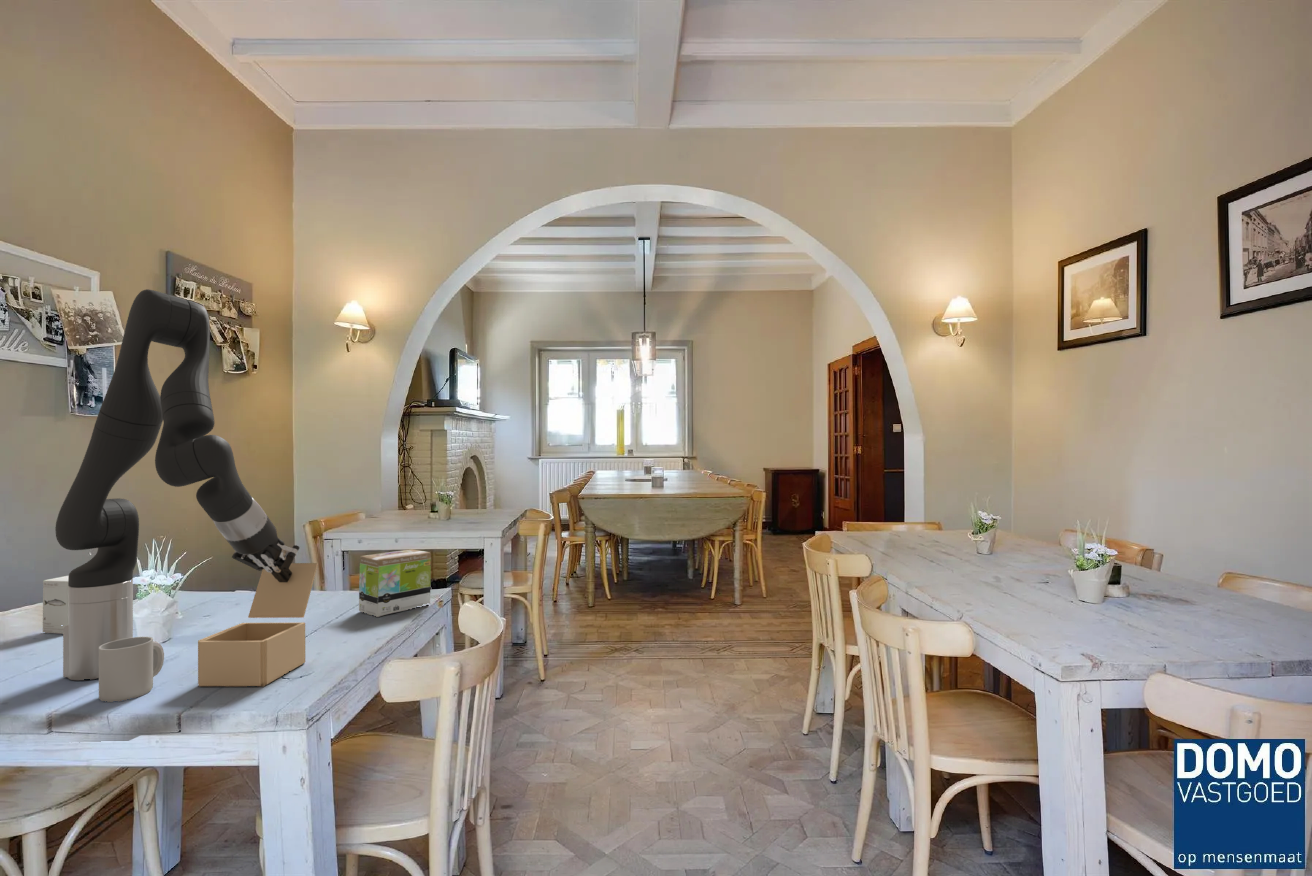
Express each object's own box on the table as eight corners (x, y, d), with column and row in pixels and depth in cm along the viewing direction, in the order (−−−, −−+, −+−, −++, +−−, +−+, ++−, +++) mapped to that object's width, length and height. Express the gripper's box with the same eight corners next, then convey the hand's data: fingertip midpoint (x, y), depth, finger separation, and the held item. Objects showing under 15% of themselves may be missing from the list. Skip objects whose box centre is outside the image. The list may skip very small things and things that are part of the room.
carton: (194, 687, 109) (194, 641, 109) (244, 662, 121) (243, 622, 122) (264, 687, 109) (264, 641, 109) (306, 662, 121) (306, 621, 121)
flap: (247, 617, 122) (264, 563, 127) (249, 617, 122) (265, 563, 127) (302, 617, 121) (317, 562, 126) (303, 617, 122) (318, 563, 127)
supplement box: (41, 633, 144) (41, 580, 144) (75, 624, 151) (75, 573, 151) (66, 635, 142) (67, 580, 143) (100, 625, 150) (100, 574, 150)
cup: (87, 701, 104) (87, 648, 104) (146, 679, 113) (146, 631, 114) (121, 704, 102) (121, 650, 102) (178, 681, 112) (178, 632, 112)
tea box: (378, 618, 153) (377, 559, 153) (358, 612, 159) (357, 555, 159) (431, 605, 165) (431, 550, 165) (411, 600, 171) (411, 547, 171)
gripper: (288, 508, 116) (325, 563, 127) (221, 509, 116) (263, 563, 128) (268, 539, 110) (309, 594, 122) (198, 540, 111) (245, 594, 122)
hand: (285, 578), depth 125 cm, fingers closed
